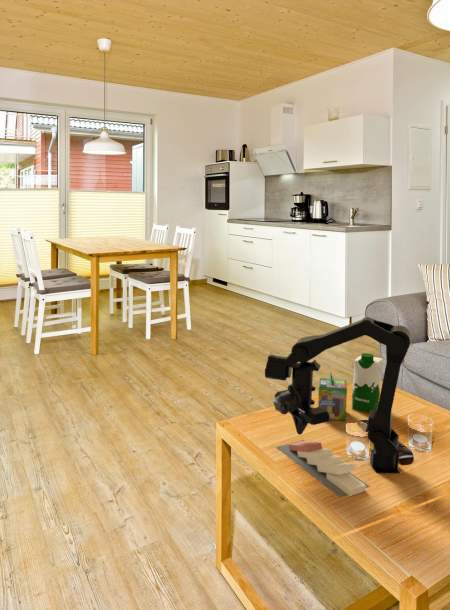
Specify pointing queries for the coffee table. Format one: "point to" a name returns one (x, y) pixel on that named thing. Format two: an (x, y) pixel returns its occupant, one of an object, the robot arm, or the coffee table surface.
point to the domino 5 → (346, 483)
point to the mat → (313, 469)
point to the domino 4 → (337, 468)
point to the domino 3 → (326, 461)
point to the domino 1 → (305, 446)
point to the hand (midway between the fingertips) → (299, 433)
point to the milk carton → (366, 382)
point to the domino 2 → (315, 454)
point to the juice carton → (333, 397)
